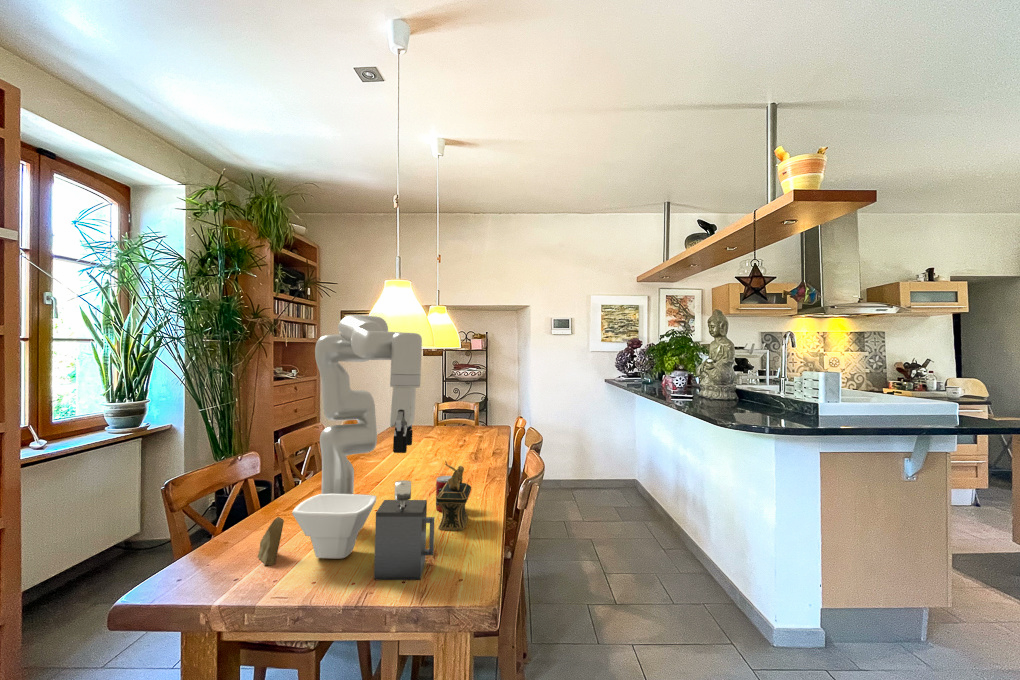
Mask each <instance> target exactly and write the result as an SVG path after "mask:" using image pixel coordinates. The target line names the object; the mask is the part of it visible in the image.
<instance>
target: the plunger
mask: <svg viewBox="0 0 1020 680" xmlns="http://www.w3.org/2000/svg"><path fill="white" fill-rule="evenodd" d="M411 498H412V481H410V480H406V479H405V480H402V479H401V480H398V481H397V480H395V482H394V500H400V501H401V506H400V507H405V500H412V499H411Z"/></svg>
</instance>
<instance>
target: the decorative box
mask: <svg viewBox="0 0 1020 680" xmlns="http://www.w3.org/2000/svg"><path fill="white" fill-rule="evenodd" d="M445 466H446V467H448V468H449V469H451V470H453V471H454V472H453V473H452V475H451V476H452V477H451V478H450V479H448V483H446V484H445V485H444V486H443V488H442V490H441V491H440V492H439V495H438V496H437V498H436V497H435V503H436V502H437V503H438V504H439V505H440V506H441V508H442V512H441V513H442V517H441V521H440V523H439V525H438V528H437V529H439V530H440V531H441V530H442V531H464V530H465V529H466V525H467V523H468V519H469V515H468V513H467V510H466V503H467V502H468V500H469V496H470V494H471V491H472V486H471V485H470V484H469V483H467V482H463V479H464V477H463V474H464V472H465V471H464V470H465V467H464V466H462V465H459V466H458V467H457V469H455V467H453V466H451V465H449V464H448V462H447V461H446V460H445Z"/></svg>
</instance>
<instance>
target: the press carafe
mask: <svg viewBox="0 0 1020 680" xmlns="http://www.w3.org/2000/svg"><path fill="white" fill-rule="evenodd" d="M427 504H428V501H427V499H409V500H405V507H400V506H401V501H400V500H395V499H384V500H383V502H382V503H381V504H380V506H379V508H378V509H377V510H376V512H375V531H374V572H373V581H421V578H422V577H423V576H422V575H423V571H424V568H425V564H426V556H434V554H435V553H434V552H435V550H434V549H435V546H434V545H435V516H427V507H428V505H427ZM427 524H429V537H428V538H429V541H428V542H429V543H428V544H429V545H428V547H429V548H426V546H427V544H426V543H427Z"/></svg>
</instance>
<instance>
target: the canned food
mask: <svg viewBox="0 0 1020 680" xmlns="http://www.w3.org/2000/svg"><path fill="white" fill-rule="evenodd" d="M451 477H452V475H442V476H438V477H436V484H435V486H436V487H435V491H436V492H435V499H436V498H437V496H438V495H439V492H440V491H441V490H442V488H443V486H444V485H445V484H446V483H448V479H450V478H451ZM435 510H436V511H437V512H438V511H439V513H443V512H442V508H441V506H440V505H439V504H438V503H437V502H436V501H435Z"/></svg>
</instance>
